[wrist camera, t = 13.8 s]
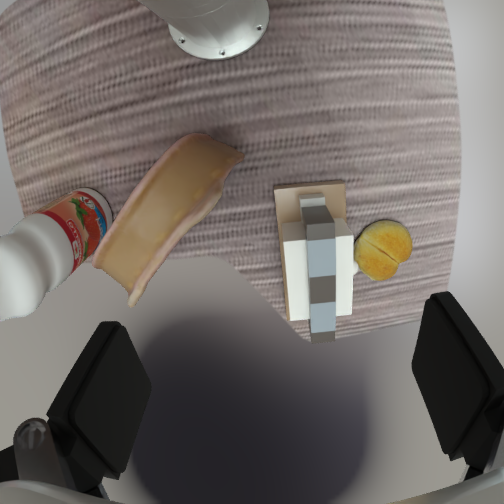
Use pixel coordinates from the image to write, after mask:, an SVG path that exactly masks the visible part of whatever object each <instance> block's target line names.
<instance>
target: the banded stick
mask: <svg viewBox="0 0 504 504" xmlns="http://www.w3.org/2000/svg"><path fill="white" fill-rule="evenodd" d="M301 211H302V221H303V224H304V228H305V232H306V234H305V235H306V251H307V269H308V286H309V315H310V319H308V322H309V329H310V336H311V342H312V344H313V343H323V342H332V341H335V326H336V238H335V221H334V220H333V218H332V216H331V214H330V212H329V210H328V208H327V207H326V205H323V206H312V207H301Z"/></svg>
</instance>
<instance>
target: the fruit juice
mask: <svg viewBox="0 0 504 504" xmlns="http://www.w3.org/2000/svg"><path fill="white" fill-rule="evenodd" d="M112 223H113V218H112V212H111V209H110V207H109V205H108V203H107V201H106V200H105V198H104V197H103V196H102V195H101V194H99V193H98V192H96V191H94V190H92V189H89V188H79V189H75V190H73V191H71V192H69V193H67V194H65V195H63V196H61V197H60V198H58V199H56V200H54V201H52V202H51V203H49V204H47V205H45V206H44V207H42V208H40V209H39V210H37V211H35V212H34V213H32V214H30V215H28V216H26V217H25V218H23V219H22V220H21V221H19V222H18V223H17V224H16V225H14V226H13V228H12V229H11V230H10V231H9V233H8V234H6V235H2V236H0V322H1V321H3V320H7V319H10V318H17V317H24V316H27V315H29V314H31V313H32V312H33V311H34V310H35V309H37V308H38V307H39V305H40V304H41V302H42V301H43V299H44V297H45V294H46V293H47V292H50V291H52V290H54V289H56V287H58V286H59V285H60V284H62V283H63V282H64V281H65V280H66V279H67V278H68V277H69V276H70V275H71V274H72V273H73V272H74V271H75V270H76V268H78V267H79V266H80V265H81V264H82V263H83V262H84V261H85V260H86V259H87V258H88V257H89V256H90V255H91V254H92V253H93V252H94V251H95V250H96V249H97V247H98V245H99V243H100V242H101V240H102V238H103V237H104V235H105V233H106V232H107V231H108V229H109V228H110V226H111V225H112Z"/></svg>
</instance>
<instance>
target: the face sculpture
mask: <svg viewBox="0 0 504 504" xmlns="http://www.w3.org/2000/svg"><path fill="white" fill-rule="evenodd" d="M244 157H245V155H244V154H243V153H242V152H239V151H237V150H236V149H234V148H233V147H231V146H229V145H226V144H224V143H221V142H219V141H216V140H214V139H212V138H211V137H210V136H209V135H206V134H199V133H190V134H188V135H185V136H183V137H182V138H180V139H179V140H178V141H176V142H175V143H174V144H173V145H172V146H171V147H170V148H168V149H167V150H166V151H165V152H164V154H163V155H162V156H161V157H160V158H159V159H158V160H157V161H156V162H155V164H154V165H153V166H152V167H151V168H150V169H149V171H148V172H147V173H146V174H145V176H144V177H143V178H142V179H141V181H140V182H139V183H138V185H137V186H136V187H135V189H134V190H133V191H132V193H131V195H130V196H129V198H128V199H127V201H126V203H125V204H124V206H123V207H122V209H121V210H120V212H119V213H118V215H117V217H116V218H115V220H114V222H113V223H112V225H111V226H110V228H109V229H108V231H107V232H106V233H105V235H104V237H103V238H102V240H101V242H100V243H99V245H98V247H97V249H96V251H95V253H94V256H93V259H92V266H93V267H94V268H97V269H102V270H103V271H105V272H106V273H107V274H108V275H109V276H111V277H112V278H113V279H115V280H116V281H117V282H118V283H120V284H121V285H122V286H123V287H124V288H125V289H126V290H127V292H128V299H127V304H128V306H129V307H133V306H135V305H136V303H137V302H138V300H139V298H140V297H141V296H142V294H143V293H144V291H145V289H146V286H147V284H148V282H149V281H150V279H151V278H152V277H153V275H154V274H155V273H156V271H157V270H158V269H159V267H160V266H161V265H162V264H163V263H164V261H165V260H166V258H167V256H168V255H169V253H170V252H171V251H172V249H173V248H174V247H175V246H176V245H177V243H178V242H179V241H180V239H181V238H182V237H183V236H184V235H185V234H186V233H187V232H188V231H189V229H190V228H192V227H193V226H194V225H196V224H197V223H199V222H200V221H201V220H203V219H204V218H205V217H206V216H207V215H208V214H209V213H210V211H211V210H212V209H213V208H214V207H215V205H216V203H217V202H218V200H219V199H220V198H221V196H222V191H223V188H224V181H225V179H226V177H227V176H228V174H229V172H230V171H231V169H232V168H233V167H234V166H235V165H236V164H237V163H239V162H241V161H243V159H244Z"/></svg>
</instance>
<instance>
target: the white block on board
mask: <svg viewBox="0 0 504 504" xmlns="http://www.w3.org/2000/svg"><path fill="white" fill-rule="evenodd" d="M274 195H275V204H276V213H277V223H278V232H279V242H280V252H281V262H282V272H283V282H284V293H285V304H286V316H287V320H290V321H294V320H304V319H307V320H308V319H310V315H309V286H308V269H307V251H306V235H305V234H306V232H305V228H304V224H303V221H302V211H301V207H312V206H323V205H326V207H327V208H328V210H329V212H330V214H331V216H332V218H333V220H334V221H335V238H336V316H342V315H350V314H352V293H353V275H355V274H356V273H357V272H358V269H359V266H358V263H357V262H356V261H354V260H353V234H352V232H351V230H350V229H349V227H348V226H347V224H346V192H345V183H344V182H343V181H342V180H336V181H323V182H311V183H299V184H289V185H278V186H274Z"/></svg>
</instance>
